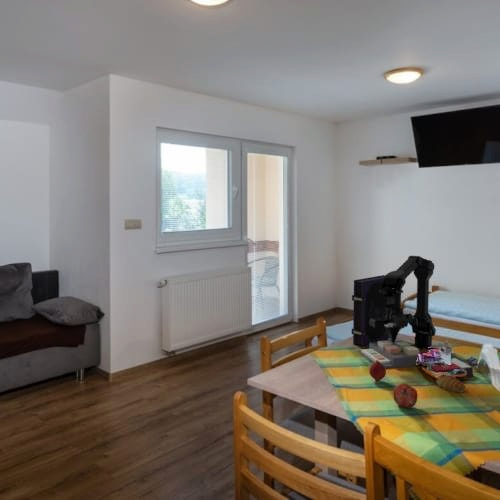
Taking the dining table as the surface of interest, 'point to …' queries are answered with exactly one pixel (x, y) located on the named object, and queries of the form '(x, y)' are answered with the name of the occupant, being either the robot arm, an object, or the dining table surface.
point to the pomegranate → (405, 395)
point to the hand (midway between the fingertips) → (392, 342)
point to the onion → (377, 371)
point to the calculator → (454, 367)
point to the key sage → (402, 345)
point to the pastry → (450, 383)
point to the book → (367, 311)
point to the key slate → (395, 340)
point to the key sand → (411, 350)
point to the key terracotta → (392, 349)
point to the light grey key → (383, 344)
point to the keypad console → (388, 357)
